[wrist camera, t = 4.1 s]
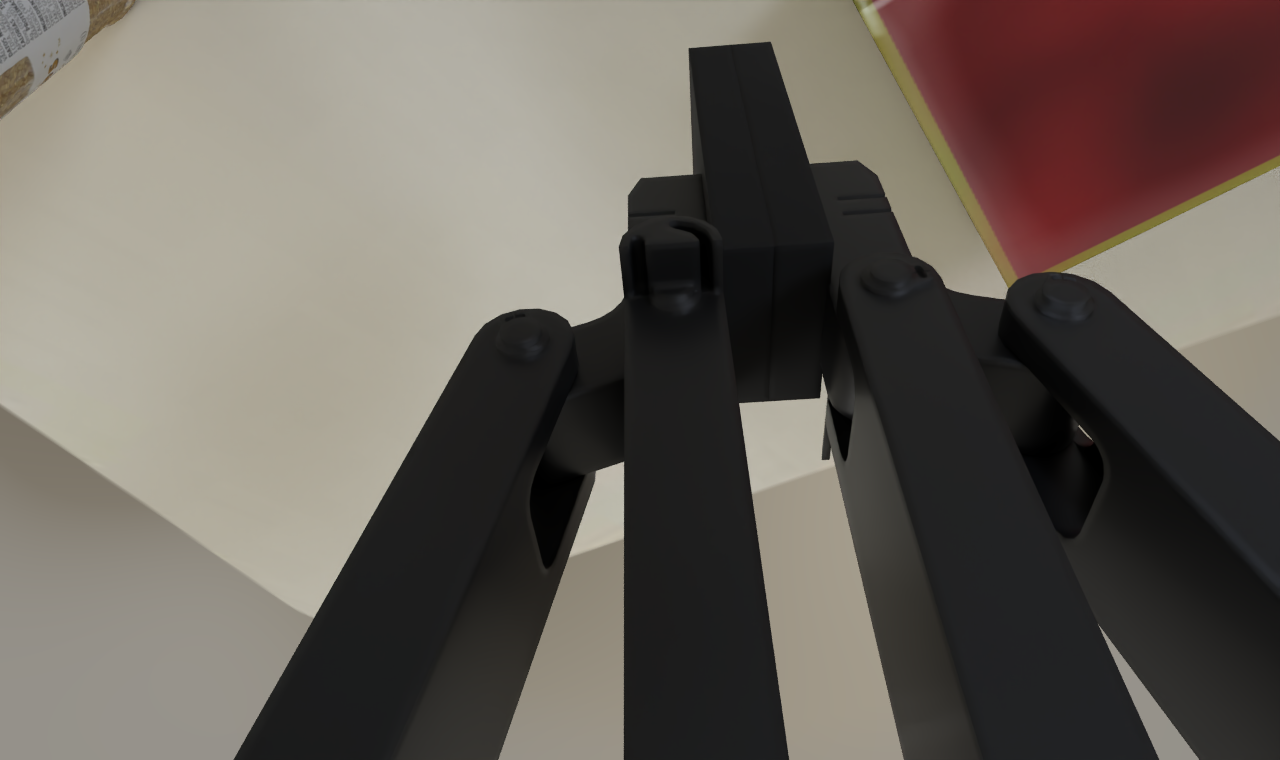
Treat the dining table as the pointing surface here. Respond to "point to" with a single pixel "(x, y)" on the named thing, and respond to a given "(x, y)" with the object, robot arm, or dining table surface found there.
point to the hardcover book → (1085, 111)
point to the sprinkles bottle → (46, 40)
